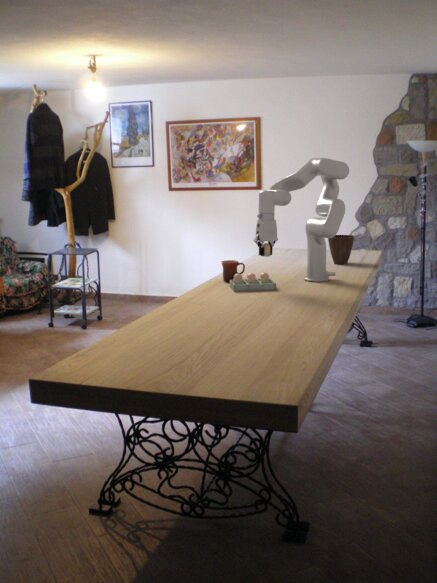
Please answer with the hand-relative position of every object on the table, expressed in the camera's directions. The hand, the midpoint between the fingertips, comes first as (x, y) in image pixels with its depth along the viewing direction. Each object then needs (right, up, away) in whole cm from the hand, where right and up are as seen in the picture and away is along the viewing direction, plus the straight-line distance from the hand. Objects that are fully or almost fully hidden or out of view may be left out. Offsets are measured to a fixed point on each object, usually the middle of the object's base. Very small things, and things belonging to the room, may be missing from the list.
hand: (265, 254), depth 314 cm
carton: (-6, -16, +5) cm, 18 cm away
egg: (0, -1, 0) cm, 1 cm away
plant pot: (+49, -1, +69) cm, 84 cm away
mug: (-15, -13, +23) cm, 30 cm away
